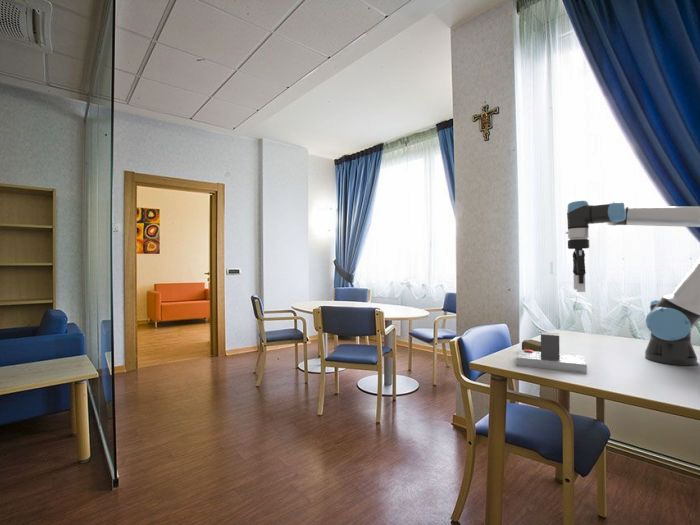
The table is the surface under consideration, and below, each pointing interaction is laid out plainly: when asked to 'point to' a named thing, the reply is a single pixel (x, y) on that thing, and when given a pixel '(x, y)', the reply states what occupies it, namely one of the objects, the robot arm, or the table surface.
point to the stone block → (531, 345)
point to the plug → (550, 345)
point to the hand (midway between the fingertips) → (579, 290)
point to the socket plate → (552, 361)
